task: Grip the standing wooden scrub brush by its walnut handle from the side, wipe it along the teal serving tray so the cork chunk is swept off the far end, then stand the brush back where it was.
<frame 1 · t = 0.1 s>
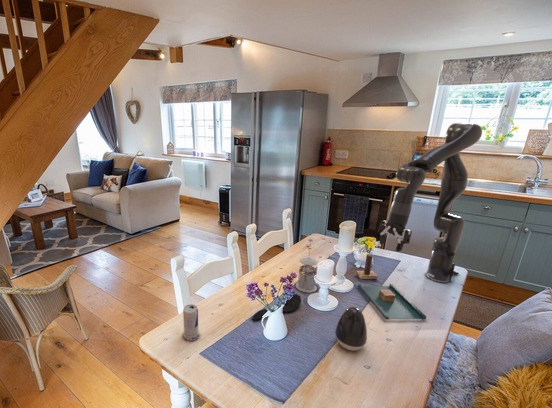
hand: (389, 247, 136), 22 cm above the table, tool pointing down, fingers open, 8 cm apart
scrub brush: (365, 279, 153), on the table
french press: (305, 288, 146), on the table
black egg shaped diffuser: (349, 345, 110), on the table
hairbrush: (276, 310, 129), on the table
cork chunk: (386, 298, 135), point 1 cm above the table, touching tray
energy drink: (191, 336, 115), on the table
tray: (388, 303, 133), on the table
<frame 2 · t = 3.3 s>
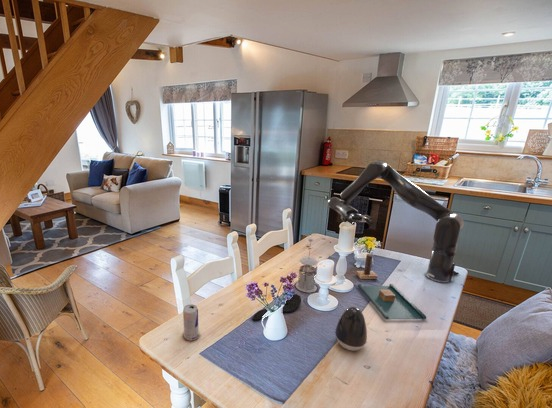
hand: (362, 223, 156), 26 cm above the table, tool horizontal, fingers open, 8 cm apart
nothing on the table moved.
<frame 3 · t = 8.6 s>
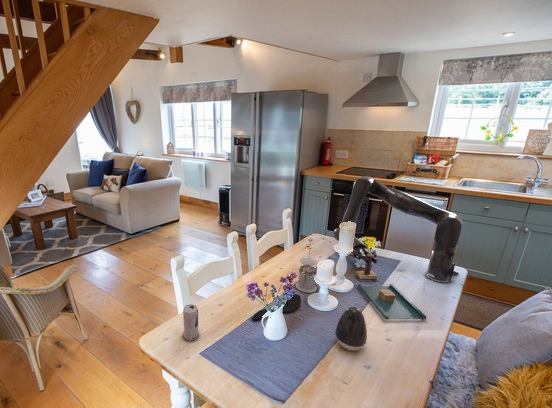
hand: (372, 261, 147), 11 cm above the table, tool horizontal, fingers closed on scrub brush, 3 cm apart
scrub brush: (365, 279, 153), on the table, touching gripper
everything else where it was.
when the fingers open (11 cm above the table, at t = 31.0 s): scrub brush stays where it is, on the table.
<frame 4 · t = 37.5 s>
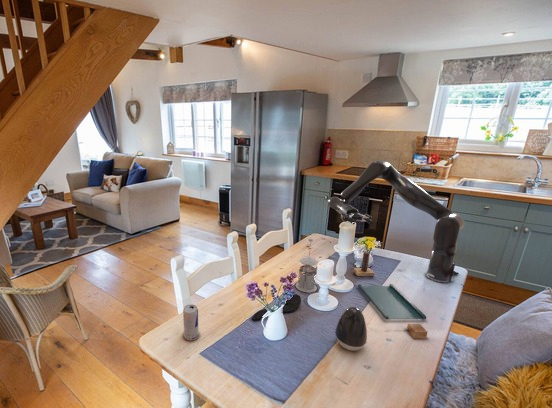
hand: (362, 222, 156), 26 cm above the table, tool horizontal, fingers open, 8 cm apart
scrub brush: (363, 276, 155), on the table
cork chunk: (416, 334, 115), on the table
everything else where it was.
at the end: cork chunk on the table; cork chunk moved 21.4 cm from its start; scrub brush tilted 0° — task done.
